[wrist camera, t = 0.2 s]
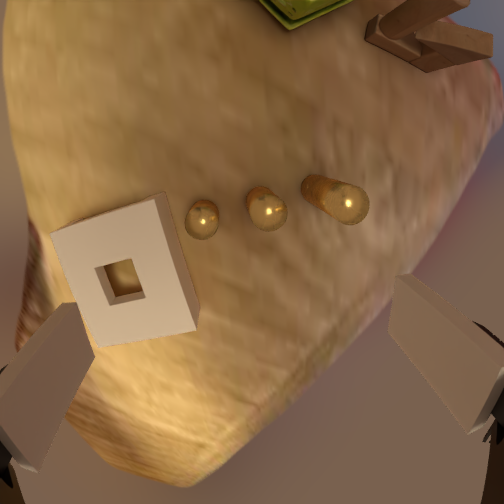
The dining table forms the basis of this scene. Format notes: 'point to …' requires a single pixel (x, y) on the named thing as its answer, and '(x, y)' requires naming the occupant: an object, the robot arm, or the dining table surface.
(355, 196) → the pin long
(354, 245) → the dining table surface
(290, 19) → the flower pot
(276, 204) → the pin medium
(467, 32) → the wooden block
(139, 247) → the white block with hole
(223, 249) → the dining table surface
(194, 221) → the pin short
